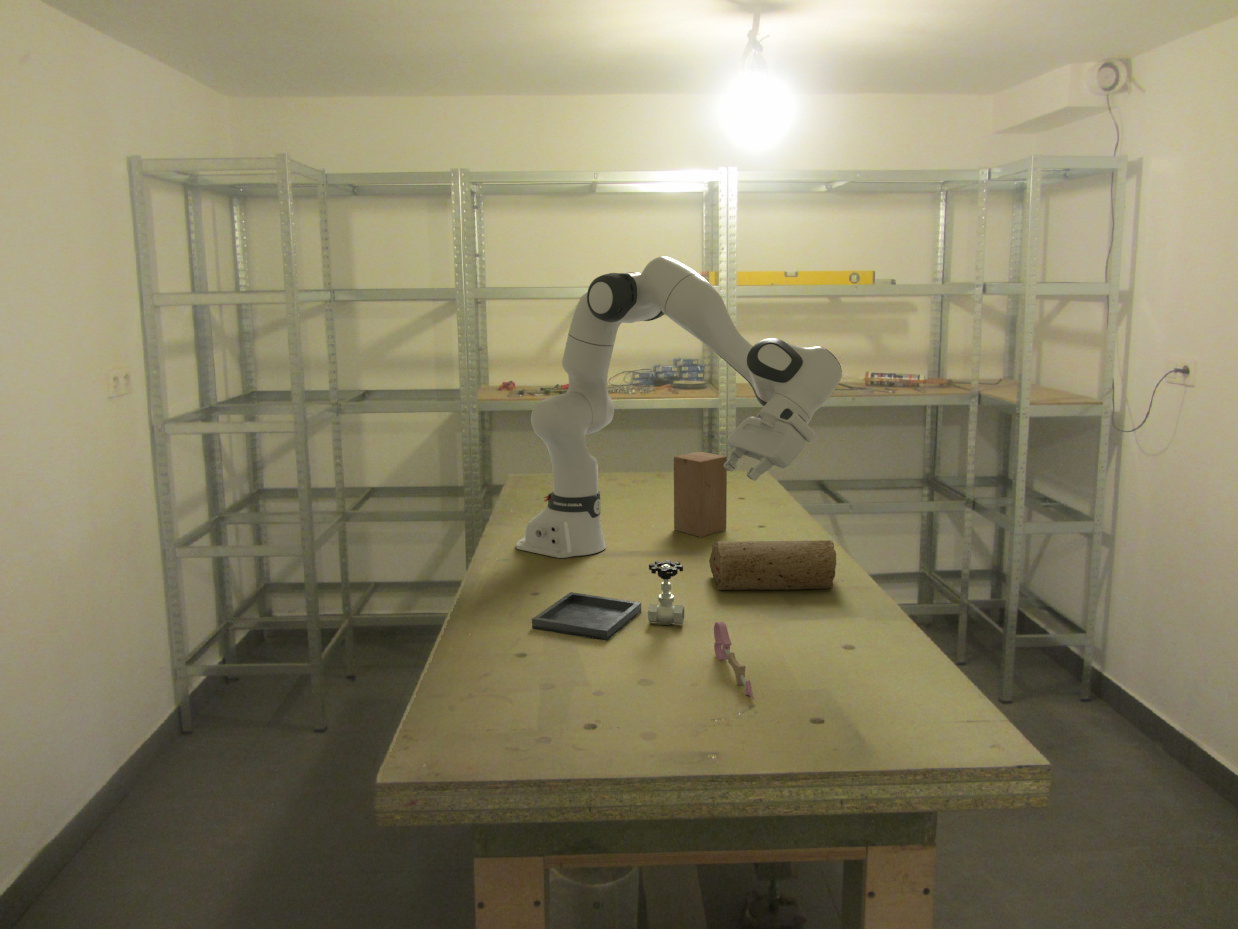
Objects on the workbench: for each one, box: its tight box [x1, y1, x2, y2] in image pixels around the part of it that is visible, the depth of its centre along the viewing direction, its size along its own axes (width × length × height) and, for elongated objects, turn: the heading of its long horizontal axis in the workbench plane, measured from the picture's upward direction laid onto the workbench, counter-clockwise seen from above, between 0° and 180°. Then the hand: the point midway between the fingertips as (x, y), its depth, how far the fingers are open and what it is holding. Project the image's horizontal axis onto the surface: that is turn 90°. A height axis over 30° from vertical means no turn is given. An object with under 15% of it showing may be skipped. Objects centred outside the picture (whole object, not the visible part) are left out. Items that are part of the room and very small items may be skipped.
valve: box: [647, 559, 685, 626], centre depth 174 cm, size 7×7×12 cm
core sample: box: [708, 539, 837, 591], centre depth 196 cm, size 14×26×10 cm, turn 89°
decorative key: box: [713, 621, 755, 700], centre depth 152 cm, size 7×1×20 cm
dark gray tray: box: [531, 591, 642, 642], centre depth 178 cm, size 16×16×2 cm
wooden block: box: [673, 451, 728, 538], centre depth 237 cm, size 10×10×20 cm
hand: (738, 473), depth 176 cm, fingers open, 8 cm apart
